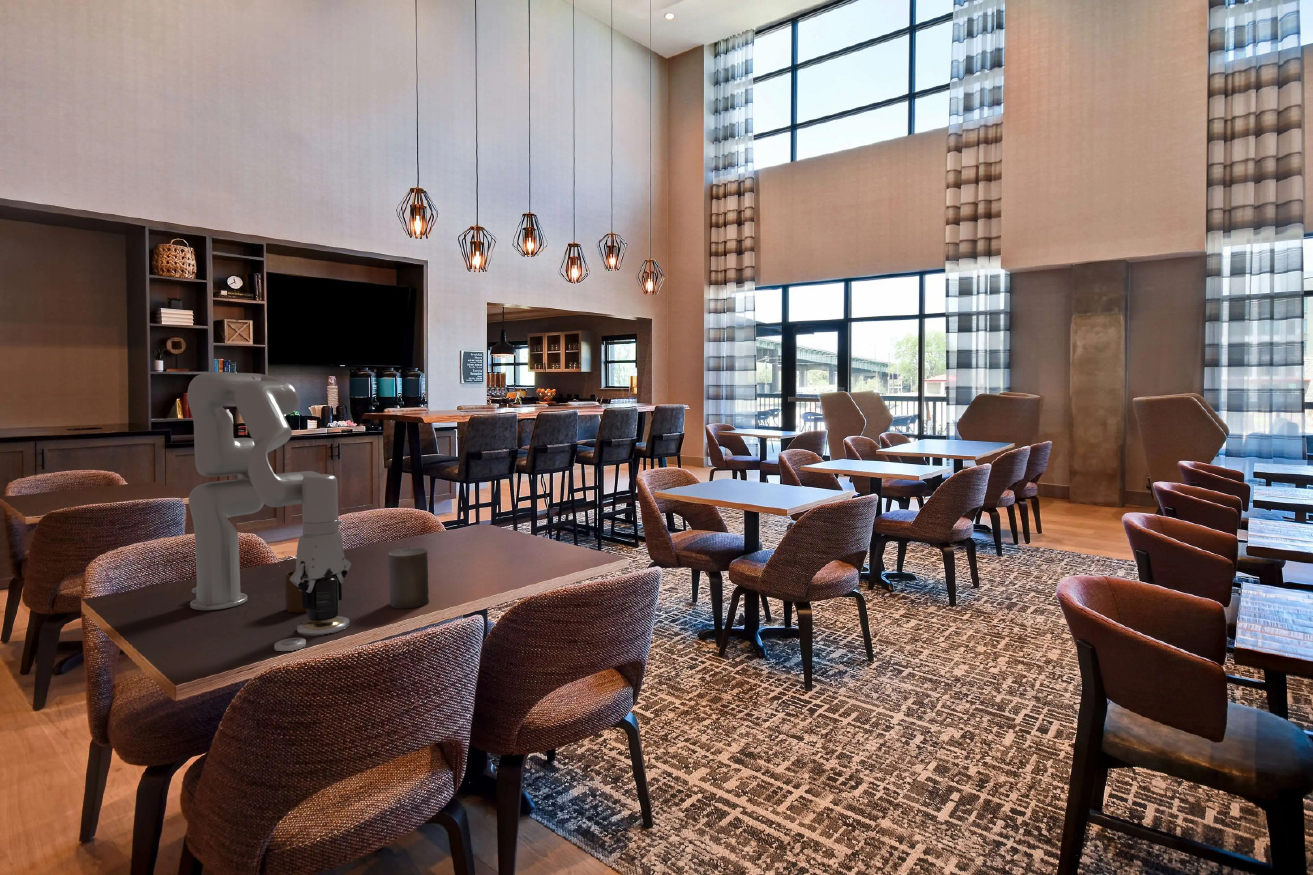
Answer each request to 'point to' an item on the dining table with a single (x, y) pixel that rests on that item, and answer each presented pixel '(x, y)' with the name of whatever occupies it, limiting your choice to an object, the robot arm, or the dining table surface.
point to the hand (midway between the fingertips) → (322, 603)
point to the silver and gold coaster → (322, 626)
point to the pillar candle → (408, 578)
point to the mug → (293, 595)
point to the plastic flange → (290, 644)
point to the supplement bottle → (325, 598)
